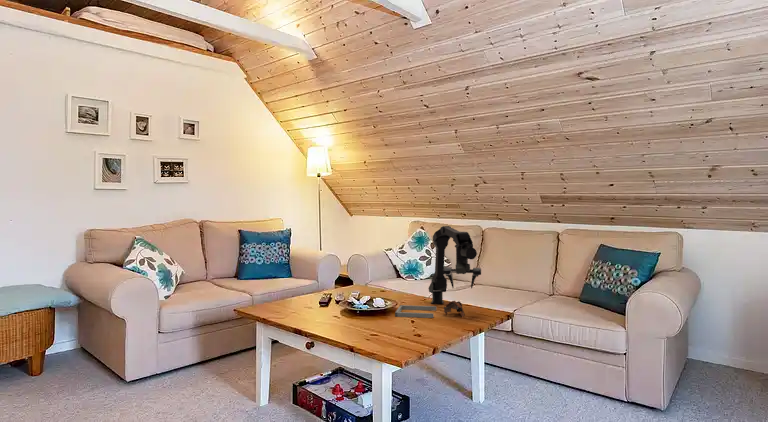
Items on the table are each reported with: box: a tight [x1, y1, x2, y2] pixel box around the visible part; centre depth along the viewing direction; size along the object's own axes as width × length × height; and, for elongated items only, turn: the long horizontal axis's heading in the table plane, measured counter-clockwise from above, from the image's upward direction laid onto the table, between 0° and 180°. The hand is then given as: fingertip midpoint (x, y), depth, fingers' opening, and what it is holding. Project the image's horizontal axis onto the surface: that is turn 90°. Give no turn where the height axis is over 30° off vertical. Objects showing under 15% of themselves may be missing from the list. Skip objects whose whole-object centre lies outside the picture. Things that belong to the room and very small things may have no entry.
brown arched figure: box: [443, 300, 465, 318], centre depth 253 cm, size 12×10×8 cm
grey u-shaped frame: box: [394, 304, 437, 319], centre depth 257 cm, size 16×19×2 cm
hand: (462, 288), depth 250 cm, fingers open, 9 cm apart
